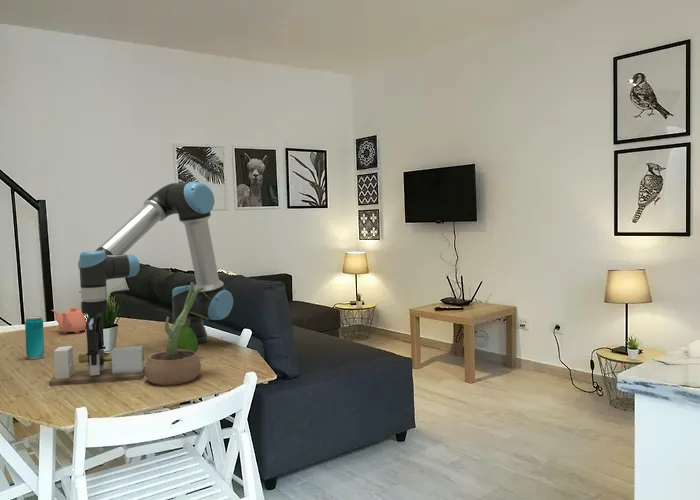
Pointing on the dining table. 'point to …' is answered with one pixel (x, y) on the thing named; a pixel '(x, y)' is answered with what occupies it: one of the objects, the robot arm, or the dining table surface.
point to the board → (96, 377)
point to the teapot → (71, 321)
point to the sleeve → (127, 360)
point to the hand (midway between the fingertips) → (97, 372)
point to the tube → (102, 357)
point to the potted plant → (175, 352)
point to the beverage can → (34, 337)
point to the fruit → (187, 340)
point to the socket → (63, 362)
